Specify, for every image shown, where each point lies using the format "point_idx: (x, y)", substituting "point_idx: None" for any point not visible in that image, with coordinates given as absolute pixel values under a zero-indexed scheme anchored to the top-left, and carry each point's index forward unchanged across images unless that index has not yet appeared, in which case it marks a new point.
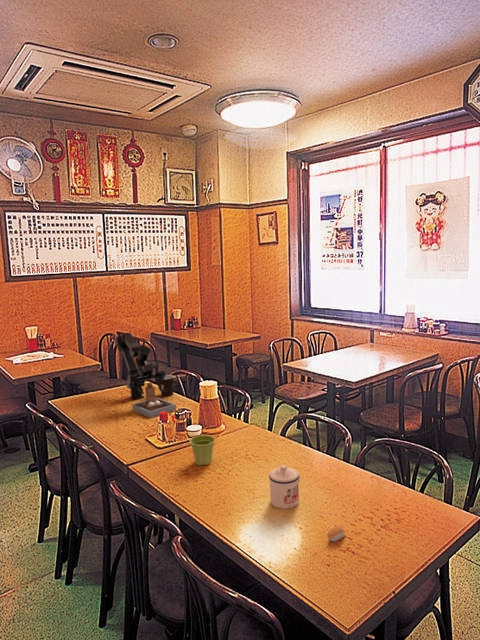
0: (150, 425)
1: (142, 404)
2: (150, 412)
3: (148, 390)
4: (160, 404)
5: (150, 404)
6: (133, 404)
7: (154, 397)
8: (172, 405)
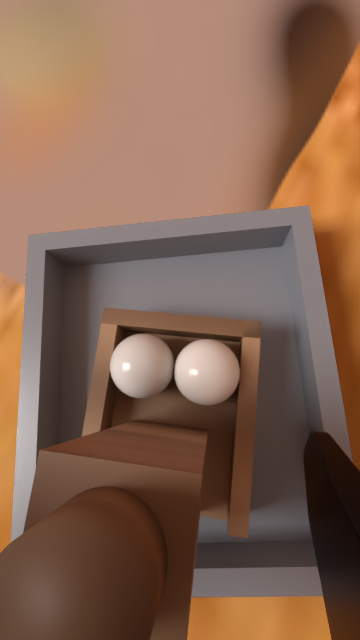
0: (349, 103)
1: (233, 556)
2: (295, 210)
3: (190, 462)
4: (132, 311)
5: (226, 347)
6: None
7: (122, 428)
8: (62, 233)
